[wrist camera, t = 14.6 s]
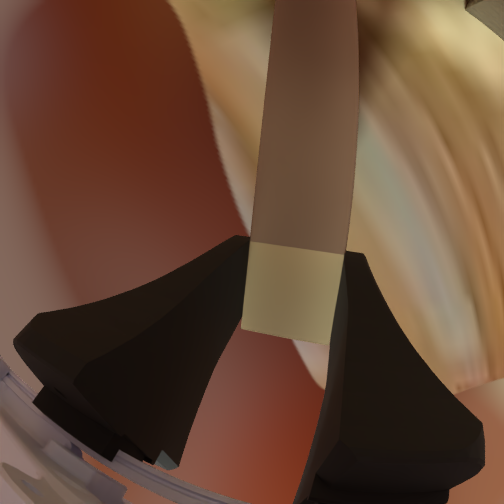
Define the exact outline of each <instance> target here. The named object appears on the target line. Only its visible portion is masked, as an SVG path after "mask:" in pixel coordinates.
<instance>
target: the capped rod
mask: <svg viewBox="0 0 504 504" xmlns="http://www.w3.org/2000/svg"><path fill="white" fill-rule="evenodd" d="M358 109H359V47H358V24H357V9H356V0H275V8H274V17H273V26H272V35H271V45H270V54H269V63H268V73H267V82H266V91H265V101H264V110H263V119H262V129H261V138H260V148H259V158H258V167H257V177H256V186H255V196H254V206H253V215H252V225H251V235H250V246H249V256H248V266H247V276H246V285H245V295H244V304H243V314H242V325H241V328H242V329H245V330H250V331H254V332H259V333H264V334H269V335H274V336H279V337H284V338H289V339H294V340H300V341H305V342H311V343H317V344H323V345H329V341H330V336H331V331H332V325H333V318H334V312H335V306H336V301H337V296H338V290H339V284H340V278H341V272H342V266H343V260H344V253H346V247H347V240H348V232H349V224H350V216H351V207H352V198H353V188H354V177H355V165H356V151H357V134H358Z"/></svg>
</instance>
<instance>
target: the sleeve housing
mask: <svg viewBox="0 0 504 504" xmlns="http://www.w3.org/2000/svg"><path fill="white" fill-rule="evenodd" d="M466 11H467V12H469V13H470V14H471V15H473V16H474V17H475V18H477V19H478V20H479V21H481V22H482V23H483V24H485V25H486V26H487V27H488V28H490V29H491V30H492V31H493V32H494V33H496V34H497V35H498V36H499V37H500V38H501V39H503V40H504V0H469V2H468V4H467V7H466Z"/></svg>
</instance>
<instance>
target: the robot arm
mask: <svg viewBox="0 0 504 504" xmlns="http://www.w3.org/2000/svg"><path fill="white" fill-rule="evenodd" d="M249 246H250V237H246V236H239V235H235V236H233V237H231V238H229V239H228V240H226V241H224V242H222V243H221V244H219V245H218V246H216V247H214V248H212V249H211V250H209V251H208V252H206V253H204V254H202V255H201V256H199V257H197V258H196V259H194V260H192V261H190V262H189V263H187V264H185V265H183V266H181V267H179V268H177V269H176V270H174V271H172V272H170V273H168V274H166V275H164V276H162V277H160V278H158V279H156V280H154V281H152V282H149V283H147V284H145V285H142V286H140V287H138V288H135V289H133V290H130V291H127V292H124V293H121V294H118V295H116V296H113V297H110V298H107V299H104V300H100V301H97V302H93V303H89V304H85V305H81V306H77V307H73V308H68V309H63V310H56V311H50V312H44V313H39V314H37V315H36V316H35V317H34V318H33V319H32V320H31V321H30V322H29V323H28V324H27V325H26V326H25V327H24V329H23V330H22V331H21V332H20V333H19V334H18V335H17V336H16V337H15V338H14V340H13V345H14V347H15V349H16V351H17V352H18V354H19V355H20V357H21V358H22V359H23V361H24V362H25V363H26V365H27V366H28V367H29V368H30V370H31V371H32V372H33V373H34V375H35V376H36V377H37V378H38V379H39V380H40V382H41V383H42V384H43V385H44V387H43V388H42V390H41V391H40V392H39V393H37V392H36V391H34V390H33V389H32V388H31V387H30V386H29V385H28V384H26V383H25V382H24V381H23V380H22V379H21V378H20V377H19V376H17V374H15V373H14V372H13V371H12V370H11V369H10V367H9V365H8V364H7V363H6V362H5V360H4V359H3V358H2V357H1V356H0V504H133V503H131V502H129V501H127V500H126V499H124V498H123V496H124V494H125V493H126V491H127V487H126V486H124V485H122V484H121V483H119V482H118V481H116V480H114V479H113V478H111V477H109V476H108V475H106V474H105V473H103V472H101V471H100V470H98V469H96V468H95V467H93V466H92V465H90V464H89V463H87V462H86V461H85V460H84V459H83V458H82V452H81V450H83V451H84V452H85V453H87V454H88V455H90V456H91V457H93V458H94V459H96V460H97V461H99V462H100V463H102V464H104V465H105V466H107V467H109V468H110V469H112V470H113V471H115V472H117V473H118V474H120V475H122V476H124V477H125V478H127V479H129V480H131V481H133V482H134V483H136V484H138V485H140V486H142V487H144V488H146V489H148V490H150V491H152V492H154V493H156V494H158V495H160V496H162V497H165V498H167V499H169V500H171V501H173V502H176V503H178V504H250V503H247V502H243V501H240V500H236V499H233V498H230V497H227V496H223V495H220V494H217V493H214V492H211V491H209V490H206V489H203V488H200V487H198V486H195V485H192V484H190V483H187V482H185V481H182V480H180V479H178V478H175V477H173V476H171V475H168V474H166V473H164V472H162V471H160V470H157V469H155V468H153V467H151V466H149V465H147V464H145V463H143V460H144V461H146V462H148V463H150V464H152V465H154V464H155V465H157V466H160V467H162V468H164V469H166V470H172V469H175V468H177V467H179V464H180V460H181V457H182V454H183V451H184V448H185V445H186V441H187V439H188V435H189V433H190V430H191V427H192V424H193V422H194V419H195V416H196V413H197V411H198V408H199V405H200V403H201V400H202V398H203V395H204V392H205V390H206V387H207V385H208V382H209V380H210V378H211V375H212V373H213V370H214V368H215V366H216V364H217V362H218V360H219V358H220V356H221V354H222V352H223V351H224V349H225V347H226V345H227V343H228V342H229V340H230V338H231V336H232V334H233V332H234V331H235V329H236V327H237V325H238V323H239V321H240V319H241V317H242V314H243V304H244V295H245V285H246V276H247V266H248V256H249ZM79 448H80V449H81V450H80V449H79ZM484 466H485V439H484V431H483V425H482V422H481V421H480V420H479V419H477V418H476V417H475V416H474V415H473V414H472V413H471V412H470V411H469V410H468V409H467V408H466V407H465V406H464V405H463V404H462V403H461V402H460V401H459V400H458V399H457V398H456V397H455V396H454V395H453V394H452V393H451V392H450V391H449V390H448V389H447V387H446V386H445V385H444V384H443V383H442V382H441V381H440V380H439V379H438V377H437V376H436V375H435V374H434V373H433V372H432V370H431V369H430V368H429V366H428V365H427V364H426V363H425V361H424V360H423V359H422V358H421V356H420V355H419V354H418V353H417V351H416V350H415V348H414V347H413V346H412V344H411V343H410V341H409V340H408V338H407V337H406V335H405V334H404V332H403V331H402V329H401V328H400V326H399V324H398V323H397V321H396V319H395V318H394V316H393V314H392V312H391V310H390V309H389V307H388V305H387V303H386V301H385V299H384V297H383V295H382V293H381V291H380V289H379V287H378V285H377V283H376V281H375V279H374V277H373V274H372V272H371V270H370V267H369V265H368V262H367V259H366V257H365V255H364V254H363V253H357V252H350V251H346V253H344V260H343V266H342V272H341V278H340V284H339V290H338V296H337V301H336V306H335V312H334V318H333V325H332V331H331V339H330V351H329V362H328V372H327V382H326V388H325V394H324V399H323V403H322V407H321V411H320V416H319V420H318V424H317V427H316V431H315V435H314V439H313V443H312V446H311V449H310V453H309V457H308V460H307V463H306V466H305V469H304V472H303V476H302V479H301V482H300V485H299V488H298V490H297V493H296V496H295V499H294V502H293V504H446V503H447V501H448V498H449V489H451V488H453V487H455V486H456V485H459V484H461V483H463V482H464V481H466V480H468V479H470V478H472V477H473V476H475V475H476V474H478V473H479V472H480V470H481V469H482V468H483V467H484Z"/></svg>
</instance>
